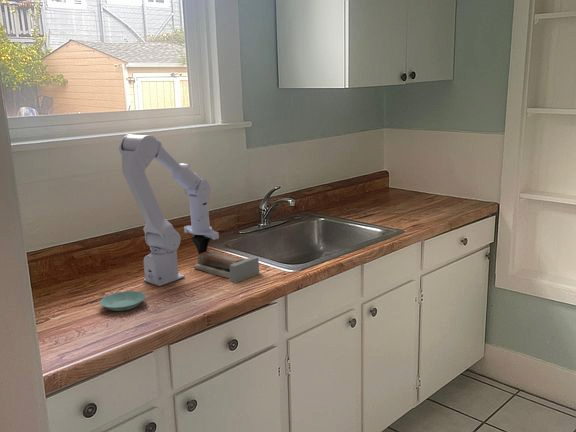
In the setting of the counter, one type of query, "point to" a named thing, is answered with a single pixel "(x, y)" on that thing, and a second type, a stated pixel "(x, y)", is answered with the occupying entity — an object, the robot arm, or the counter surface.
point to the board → (244, 269)
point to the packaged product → (216, 263)
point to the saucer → (122, 300)
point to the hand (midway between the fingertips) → (203, 257)
